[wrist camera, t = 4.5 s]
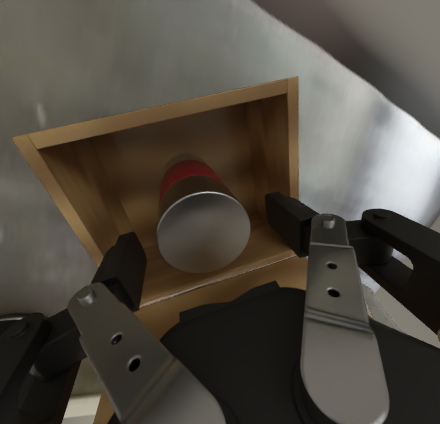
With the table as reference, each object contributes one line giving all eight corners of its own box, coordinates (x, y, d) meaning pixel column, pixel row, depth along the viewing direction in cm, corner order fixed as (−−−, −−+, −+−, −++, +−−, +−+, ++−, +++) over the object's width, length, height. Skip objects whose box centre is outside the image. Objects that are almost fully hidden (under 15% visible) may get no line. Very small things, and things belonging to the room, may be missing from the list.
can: (171, 206, 22) (173, 285, 12) (154, 160, 20) (138, 208, 9) (215, 193, 23) (256, 258, 12) (205, 147, 20) (245, 179, 10)
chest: (78, 129, 18) (10, 137, 10) (247, 92, 20) (298, 75, 12) (140, 251, 25) (127, 311, 17) (261, 214, 27) (298, 253, 19)
